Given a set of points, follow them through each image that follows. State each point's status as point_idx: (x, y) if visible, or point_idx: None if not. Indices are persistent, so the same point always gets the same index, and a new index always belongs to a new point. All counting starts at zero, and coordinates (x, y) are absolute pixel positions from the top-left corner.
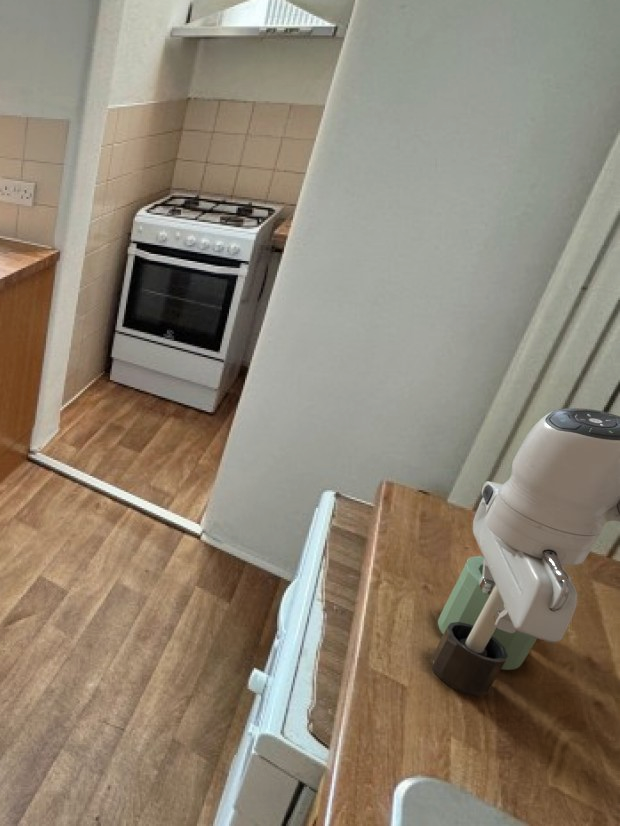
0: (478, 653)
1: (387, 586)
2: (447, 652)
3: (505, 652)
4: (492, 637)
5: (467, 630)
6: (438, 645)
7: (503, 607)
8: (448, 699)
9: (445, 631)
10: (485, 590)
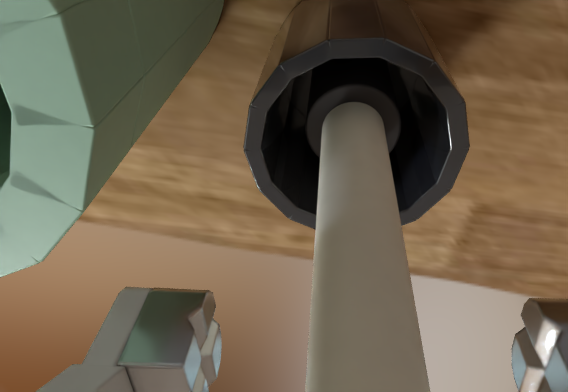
0: (385, 121)
1: None
2: None
3: (366, 46)
4: (279, 80)
5: (268, 146)
6: None
7: (426, 371)
8: (475, 108)
9: None
10: (216, 362)
